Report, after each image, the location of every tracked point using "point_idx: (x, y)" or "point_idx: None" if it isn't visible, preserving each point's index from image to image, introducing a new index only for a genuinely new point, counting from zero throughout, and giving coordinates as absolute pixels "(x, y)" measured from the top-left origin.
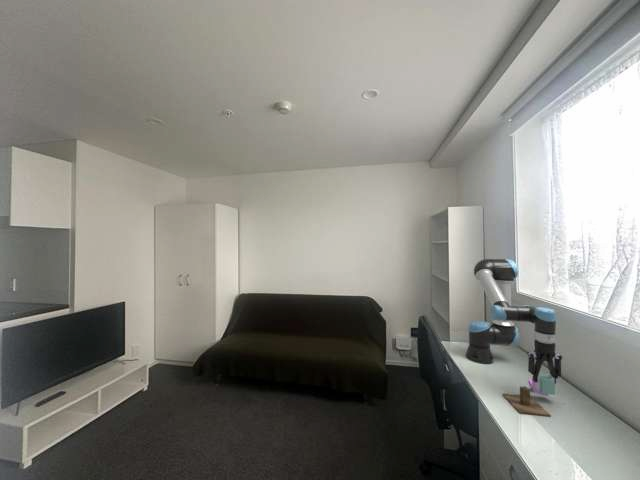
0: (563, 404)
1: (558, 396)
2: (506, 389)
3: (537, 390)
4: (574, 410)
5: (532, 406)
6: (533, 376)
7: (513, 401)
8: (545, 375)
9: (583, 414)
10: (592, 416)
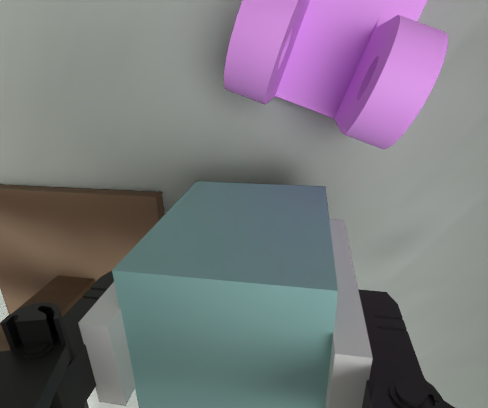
0: (380, 256)
1: (457, 130)
2: (22, 81)
3: (276, 96)
4: None
5: None
6: (68, 325)
7: (18, 277)
8: (286, 315)
9: (422, 356)
10: (469, 373)
